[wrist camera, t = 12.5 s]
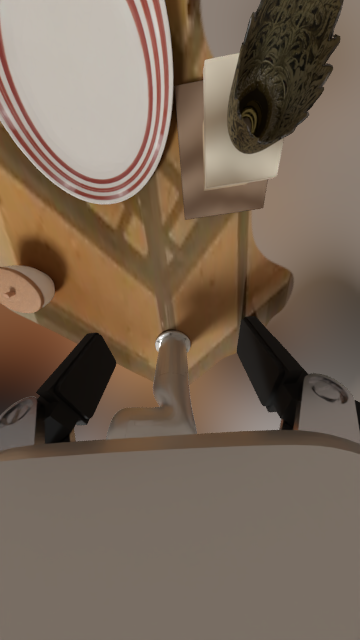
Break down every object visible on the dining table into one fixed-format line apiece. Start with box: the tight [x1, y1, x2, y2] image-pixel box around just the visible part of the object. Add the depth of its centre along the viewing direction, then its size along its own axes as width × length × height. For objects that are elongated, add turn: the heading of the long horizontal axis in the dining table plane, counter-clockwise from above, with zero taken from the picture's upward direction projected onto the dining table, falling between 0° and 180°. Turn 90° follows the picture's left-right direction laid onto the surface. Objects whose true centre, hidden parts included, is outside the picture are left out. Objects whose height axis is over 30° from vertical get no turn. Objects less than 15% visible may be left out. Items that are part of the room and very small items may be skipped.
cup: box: [227, 0, 343, 154], centre depth 14 cm, size 8×7×8 cm
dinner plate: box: [0, 0, 173, 204], centre depth 20 cm, size 27×27×3 cm
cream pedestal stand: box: [175, 53, 284, 220], centre depth 21 cm, size 16×16×10 cm
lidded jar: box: [0, 265, 55, 313], centre depth 33 cm, size 11×11×9 cm
